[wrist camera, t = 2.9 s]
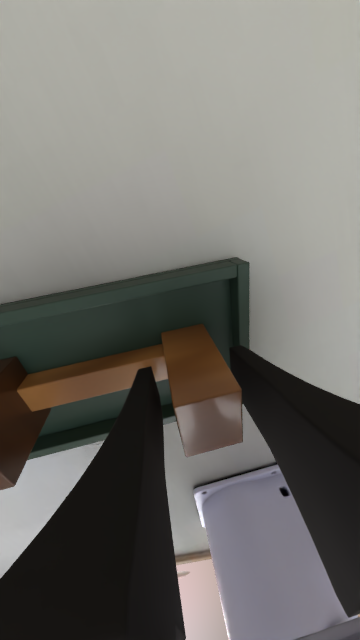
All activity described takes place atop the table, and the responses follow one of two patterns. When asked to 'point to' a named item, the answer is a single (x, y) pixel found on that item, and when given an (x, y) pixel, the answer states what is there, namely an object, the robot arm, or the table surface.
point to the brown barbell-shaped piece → (118, 374)
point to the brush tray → (121, 335)
